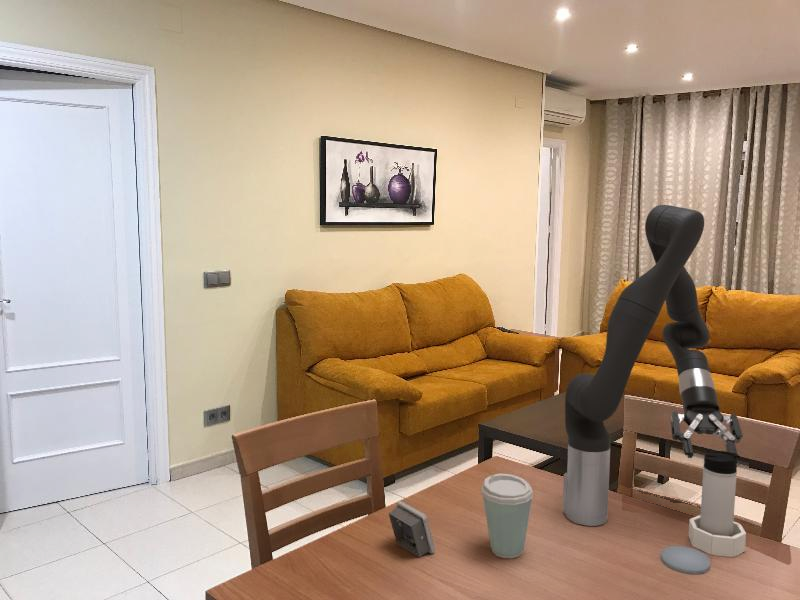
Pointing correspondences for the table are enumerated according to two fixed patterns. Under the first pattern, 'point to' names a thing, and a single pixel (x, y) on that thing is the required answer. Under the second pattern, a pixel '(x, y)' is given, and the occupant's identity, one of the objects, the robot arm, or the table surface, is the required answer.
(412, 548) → the electrical switch
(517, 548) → the disposable coffee cup
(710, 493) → the travel mug
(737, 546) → the collar
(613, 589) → the table surface
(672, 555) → the coaster
